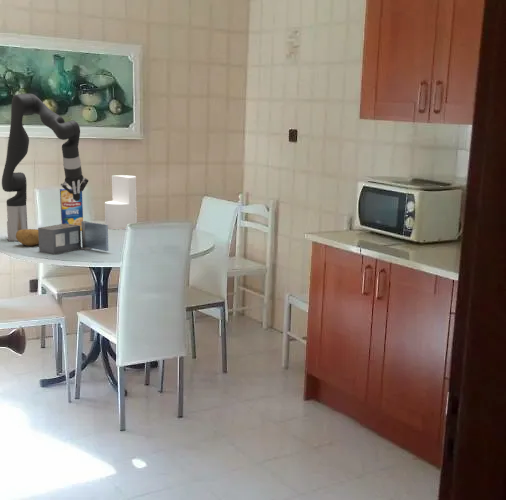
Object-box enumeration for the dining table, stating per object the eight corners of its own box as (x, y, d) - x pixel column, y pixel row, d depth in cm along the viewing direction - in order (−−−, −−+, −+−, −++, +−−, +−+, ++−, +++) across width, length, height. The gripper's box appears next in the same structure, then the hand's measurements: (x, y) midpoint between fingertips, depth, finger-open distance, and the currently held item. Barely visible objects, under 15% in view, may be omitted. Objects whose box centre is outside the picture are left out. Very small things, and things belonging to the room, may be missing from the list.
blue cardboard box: (83, 230, 371) (82, 189, 367) (62, 231, 367) (60, 190, 363) (82, 228, 377) (80, 188, 373) (61, 229, 374) (59, 189, 369)
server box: (59, 255, 309) (58, 231, 307) (39, 251, 317) (38, 227, 315) (92, 248, 325) (91, 225, 322) (72, 245, 332) (71, 222, 330)
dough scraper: (81, 247, 324) (80, 221, 321) (85, 246, 326) (84, 220, 323) (105, 251, 314) (104, 225, 312) (109, 250, 316) (108, 224, 314)
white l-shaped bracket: (126, 223, 396) (125, 174, 391) (143, 227, 384) (142, 177, 378) (99, 226, 385) (97, 176, 379) (116, 230, 372) (114, 178, 367)
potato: (48, 246, 329) (47, 229, 327) (17, 248, 323) (16, 231, 322) (46, 242, 337) (45, 226, 336) (15, 244, 332) (15, 228, 331)
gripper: (61, 171, 303) (66, 206, 312) (89, 164, 310) (93, 199, 318) (55, 165, 308) (60, 200, 317) (82, 159, 315) (87, 194, 324)
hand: (77, 200), depth 318 cm, fingers closed
